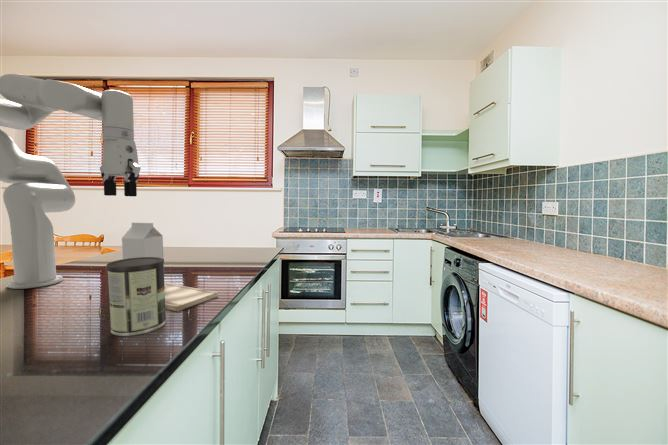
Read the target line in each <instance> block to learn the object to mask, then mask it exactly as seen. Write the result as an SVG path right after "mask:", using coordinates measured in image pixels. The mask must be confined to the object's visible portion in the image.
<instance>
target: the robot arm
mask: <svg viewBox="0 0 668 445" xmlns="http://www.w3.org/2000/svg"><path fill="white" fill-rule="evenodd" d="M0 95H1V96H2V97H3V98H2V97H0V127H4V128H9V129H15V130H19V131H20V130H21V131H25V130H30V129H32V128H34V127H35V126H37V125H39V124H40V123H41V122H42V121H43V120H45V119H47V117H49V116H51V114H53V113H54V112H57V111H60V110H61V111H65V112H68V113H71V114H75V115H79V116H83V117H85V118H86V117H87V118H89V119H90V118H91V119H94V120H97V121H101V126H102V128H101V129H102V130H101V132H102V141H103V143H102V156H101V157H102V160H101V162H102V163H101V164H102V165H101V166H100V167H99V171H100V173H101V178H102V182H103V195H104V196H108V197H109V196H113V197H115V196H117V182H116V179H117V178H118V176H121V177H123V178H124V180H125V181H124V182H123V192H124V193H123V194H124V196H125V197H137V196H138V195H137V194H138V193H137V191H138V190H137V183H138V178H139V177H140V172H141V169H142V168H141V166H140V165H139V157H138V156H139V155H138V150H137V149H138V148H137V145H136V142H135V135H134V134H135V133H134V132H135V129H134V126H135V122H134V100H133V97H132V96H131V95H130V94H129V93H127V92H124V91H122V90H116V89H106V90H103V91H102V92H101V93H100V92H97V91H94V90H91V89H89V88H86V87H83V86H80V85H77V84H74V83H70V82H66V81H61V80H55V79H50V78H47V79H41V78H38V77H32V76H28V75H22V74H16V73H6V74H3V75H1V76H0ZM0 182H2V183H6V184H10V185H8V186H7V187H6V188H5V189H4V191H3V193H2V199H3V203H4V206H5V209H6V212H7V216H8V220H9V226H10V227H9V228H10V235H11V247H12V249H11V250H12V264H13V275H14V280H12V281H9V282H8V283H7V288H8V289H14V290H16V289H17V290H18V289H20V290H21V289H22V290H23V289H33V288H40V287H46V286H51V285H55V284H58V283H60V282H62V281H63V280H64V277H63V275H58V274H57V266H56V250H55V249H56V248H55V236H54V226H53V223H52V221H51V220H50V218H49V217H48V216H47V215H46V214H48V213H62V212H67V211H69V210H71V209H72V208H73V207H74V206H75V204H76V195H75V192H74V191H73V188H72V187H71V185H70V183H69V182H68V180H67V179H66V177H65V176H64V174H63V172H62V171H61V170H60V168H59V167H58V166H57V164H56V163H55V162H54V161H52V160H51V159H49V158H47V157H45V156H41V155H33V154H28V153H25V152H23V151H22V150H21V149H20V148H19V146H18V145H17V143H16V142H15V140H14V138H12V137H11V136H10V135H9V134H7V133H6V132H5V131H4V130H2V129H0Z"/></svg>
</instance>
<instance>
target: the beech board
mask: <svg viewBox="0 0 668 445" xmlns="http://www.w3.org/2000/svg"><path fill="white" fill-rule="evenodd" d="M164 290H165V310H169V311H174V312H180V311H182V310H185V309H188V308H191V307H194V306H195V305H196V306H197V305H199V304H201V303H204V302H206V301H210V300H212V299H214V298H217V297H218V296H219V293H218V291H213V290H208V289H203V288H196V287H190V286H185V285H180V284H173V283H167V282H164Z"/></svg>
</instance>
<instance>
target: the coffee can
mask: <svg viewBox="0 0 668 445" xmlns="http://www.w3.org/2000/svg"><path fill="white" fill-rule="evenodd" d="M163 258H164V257H163ZM163 258H158V257H139V258H129V259H123V258H122V259H119V260H118V259H117V260H115V261H111V262H108V263H106V264H105V265H106V269H107V282H108V284H107V285H108V298H109V299H108V302H109V318H110V320H109V321H110V334H112V335H114V336H116V337H118V336H120V337H131V336H132V337H133V336H138V335H139V336H140V335H142V334H147V333H151V332H153V331H156V330H158V329H160V328H162V327H163V326H164V325H166V323H167V319H166V318H167V317H166V316H167V315H166V309H165V290H164V283H165V264H164V263H165V258H164V259H163Z"/></svg>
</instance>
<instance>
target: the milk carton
mask: <svg viewBox="0 0 668 445" xmlns="http://www.w3.org/2000/svg"><path fill="white" fill-rule="evenodd" d="M121 242H122V244H121V246H122V248H121V249H122V259H129V258H139V257H158V258H163V259H164V260H165V258H164V237H163V234H161V233H160V232H159V231H158V229H156V228H155V226H154V222H131V227H130V228H129V229H128V230H127V231H126V233H125V234H123V236H122V237H121Z"/></svg>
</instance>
